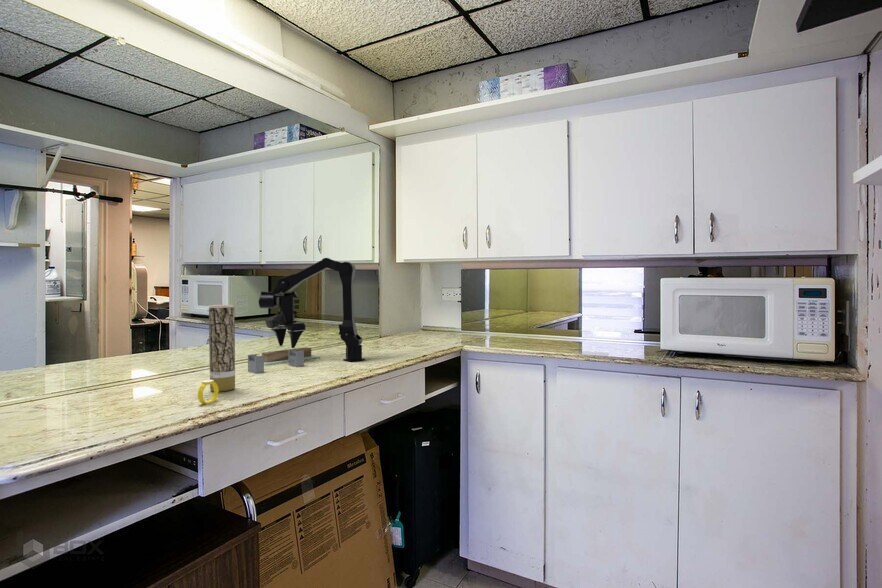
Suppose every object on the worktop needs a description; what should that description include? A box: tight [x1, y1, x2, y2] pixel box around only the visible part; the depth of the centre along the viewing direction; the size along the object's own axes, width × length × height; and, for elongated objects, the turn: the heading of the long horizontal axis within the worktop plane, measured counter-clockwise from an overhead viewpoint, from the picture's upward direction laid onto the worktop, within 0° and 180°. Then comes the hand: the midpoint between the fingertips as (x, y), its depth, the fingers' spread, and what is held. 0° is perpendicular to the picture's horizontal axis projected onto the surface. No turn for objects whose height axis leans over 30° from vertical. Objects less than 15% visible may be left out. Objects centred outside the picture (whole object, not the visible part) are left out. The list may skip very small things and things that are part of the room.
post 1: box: [247, 353, 265, 374], centre depth 167 cm, size 6×3×6 cm, turn 49°
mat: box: [264, 354, 320, 366], centre depth 190 cm, size 9×24×1 cm, turn 139°
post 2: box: [287, 348, 305, 368], centre depth 179 cm, size 6×3×6 cm, turn 49°
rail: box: [261, 346, 312, 363], centre depth 190 cm, size 4×20×4 cm, turn 138°
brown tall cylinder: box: [208, 304, 236, 392], centre depth 139 cm, size 7×7×25 cm
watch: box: [197, 379, 219, 405], centre depth 124 cm, size 6×3×6 cm, turn 164°
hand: (286, 346), depth 190 cm, fingers open, 9 cm apart
